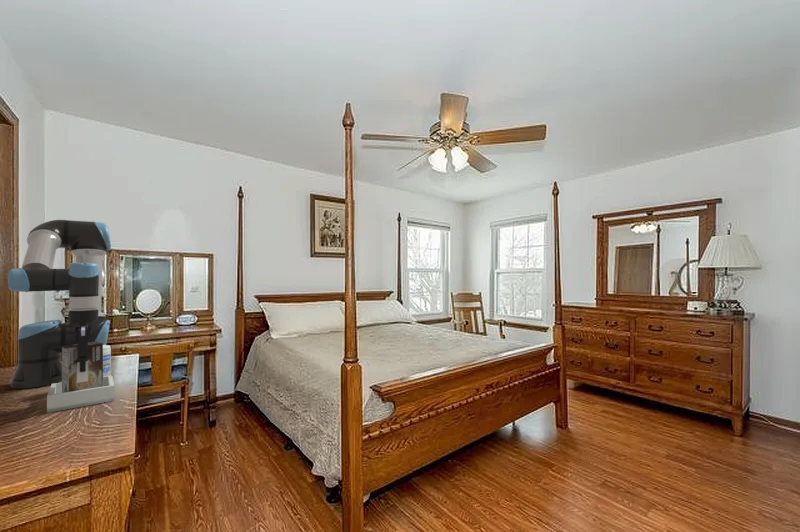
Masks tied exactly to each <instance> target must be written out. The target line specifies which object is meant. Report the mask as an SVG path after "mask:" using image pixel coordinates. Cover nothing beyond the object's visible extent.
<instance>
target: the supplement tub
mask: <svg viewBox="0 0 800 532" xmlns="http://www.w3.org/2000/svg"><path fill="white" fill-rule="evenodd" d="M111 366H112V348H111V345H109V344H106V345H103V376H109V375H111V373H112V372H111V370H112V369H111Z"/></svg>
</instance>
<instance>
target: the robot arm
mask: <svg viewBox="0 0 800 532" xmlns="http://www.w3.org/2000/svg"><path fill="white" fill-rule="evenodd" d="M110 237H111V236H110V232H109V226H108V225H107V224H106V223H104V222H96V221H95V220H94V221H89V220H88V221H86V220H69V219H68V220H67V219H54V220H49V221H45V222H43V223H40V224H39V225H37V226H35V227H34V228H33V229H31V230H30V231H29V232H28V235H27V239H26V242H27V245H28V247H27V250H26V252H25V256H24V258H23V261H22V264H21V267H19V268H11V269H9V271H8V275H7V284H8V285H7V286H8V289H9V290H10V291H12V292H18V293H19V292H20V293H21V292H25V293H28V292H31V293H32V292H57V291H58V292H61V291H63V292H64V291H65V292H67V291H68V299H66V301H65V302H66V303H67V304H68V309H70V310H69V311H68V312H67V314H68V316H67V319H68V320H67V321H68V322H64V323H62V320H61V319H53V320H44V321H37V322H32V323H29V324H26V325H23V326H21V327H20V328H19V329H18V337H17V340H18V341H17V343H18V347H17V348H18V350H17V351H18V352H17V354H18V355H17V367H16V368H15V371H14V373H13V375H12V377H11V380H10V388H11V389H17V390H19V389H22V390H23V389H31V388H32V389H34V388H40V387H45V385H46V386H51V385H50V384H54V383H57V382H58V383H61V382H62V346H65V345H72V344H78V358H77V360H74V363H76V362H77V383H79V382H86V381H88V342H100V343H103V345H107V342H108V336H109V330H110V325H111V320H109V319H107V316H106V315H105V313H103V312H102V292H103V291H102V290H103V289H102V288H103V287H102V286H103V284H102V283H103V282H102V281H103V278H102V277H103V275H102V274H103V257H104V256H106V254H107V252H108V251H109V250H111V249H112V247H111V238H110ZM58 249H70V253H71V254H72V255H73V256H75V257H74V258H75V261H74V262H71V263H70V264H69V265H68V267H69V268H53V267H54V262H55V257H56V252H57V250H58ZM83 356H85V357H83ZM60 381H61V382H60Z"/></svg>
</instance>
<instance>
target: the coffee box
mask: <svg viewBox="0 0 800 532" xmlns="http://www.w3.org/2000/svg"><path fill="white" fill-rule="evenodd" d="M83 357H85V356H83ZM77 358H78V344H72V345H65V346H62V353H61V362H62V381H61V382H62V393H65V392H72V391H78V390H84V389H91V388H97V387H103V343H100V342H88V381H86V382H79V383H77V362H76V363H74V360H77Z"/></svg>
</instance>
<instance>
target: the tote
mask: <svg viewBox="0 0 800 532" xmlns="http://www.w3.org/2000/svg"><path fill="white" fill-rule="evenodd" d="M113 376H114V375H113V374H112V375H109V376H103V387H97V388H91V389H84V390H78V391H72V392H65V393H62V381H61V382H58V383H54V384H51V385H50V387H49V389H48V392H47V395H46V414H48V413H54V412H60V411H64V410H70V409H71V410H73V409H76V408H81V407H86V406H87V407H88V406H94V405H98V404H105V403H110V402H114V401H115V382H114V377H113ZM104 402H105V403H104Z"/></svg>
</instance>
